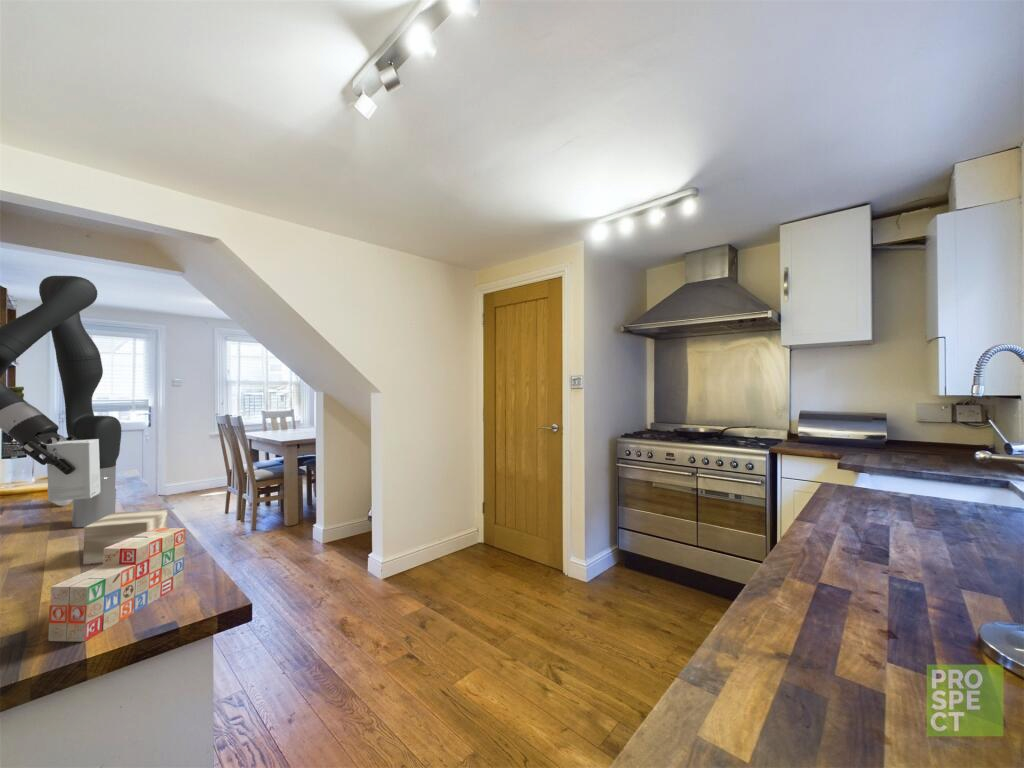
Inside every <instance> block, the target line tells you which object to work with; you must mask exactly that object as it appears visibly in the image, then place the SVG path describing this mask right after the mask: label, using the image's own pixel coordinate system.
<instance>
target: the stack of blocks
mask: <svg viewBox="0 0 1024 768" xmlns="http://www.w3.org/2000/svg"><path fill="white" fill-rule="evenodd" d="M185 556H186V528H183V527H167V528H156V529H153V530H151V531H148V532H143V533H141V534H138V535H136V536H133V538H129V539H126V540H124V541H121V542H119V543H116V544H114V545H111V546H109V547H106V548H104V554H103V562H102V564H101V565H99V566H97V567H96V566H95V567H94V568H91V569H90V570H87V571H85V572H84V571H83V572H82V573H80V574H77V575H75V576H73V577H71V578H68V579H66V580H63V581H61V582H59V583H57V584H55V585H52V586H50V604H49V605H48V606H49V607H48V609H49V610H48V623H49V624H48V636H47V637H48V642H86V641H87V640H89V639H91V638H92V637H95V636H96V635H98V634H99V633H101V632H102V631H105V630H107V629H109V628H110V627H112V626H114V625H115V624H117V623H118V622H120V621H122V620H124V619H126V618H127V617H129V616H131V615H133V614H134V613H136V612H137V611H140V609H143V608H144V607H146V606H148V605H149V604H151V603H153V602H155V601H156V600H158V599H159V598H161V597H163V596H165V595H166V594H168V593H170V592H171V591H173V590H175V589H177V588H179V587H181V586H182V585H184V583H185V582H184V581H185Z"/></svg>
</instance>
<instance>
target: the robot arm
mask: <svg viewBox="0 0 1024 768" xmlns="http://www.w3.org/2000/svg"><path fill="white" fill-rule="evenodd" d="M38 286H39V287H38V289H39V290H38V292H39V293H38V294H39V296H40V300H41V303H40V304H39V306H37V307H34V309H32V310H30V311H28V312H26V313H23V314H22V315H20V316H18V317H16V318H14V319H12V320H10V321H8V322H6V323H5V324H3V325H2V326H0V379H1V378H2V377H3V376H4V374H5V372H6V371H7V370H8V369H9V367H10V366H11V364H13V362H14V361H16V360H17V359H19V357H21V356H22V355H23V354H24V353H25V352H26V351H28V350H29V349H30V348H31V347H32V346H34V344H35V343H37V342H38V341H39V340H40V339H42V338H43V337H44V336H45V335H47V334H48V333H50V332H51V337H52V342H53V345H54V349H55V350H54V351H55V357H56V358H55V359H56V363H57V369H58V372H59V373H58V374H59V377H60V381H61V385H62V387H61V388H62V393H63V398H64V407H65V408H64V410H65V429H66V435H67V437H64V436H63V435H61V434H58V431H59V425H57V424H56V423H55V422H54V421H53V420H51V419H50V418H49V417H48V416H47V415H46V414H44V413H43V412H42V411H40V409H38V408H37V407H35V406H34V405H32V404H31V403H29V402H28V401H26V400H25V399H24V398H22V397H21V396H20V395H18V393H16V392H15V391H13V390H12V389H11V388H9V387H8V386H7V385H5V384H4V382H2V380H0V429H1V431H3V432H4V433H6V435H8V436H10V438H11V439H13V440H15V442H17V443H18V444H19V445H20V446H22V447H21V448H20V451H22V452H23V453H25V454H26V455H27V456H29V457H30V458H31V459H34V461H36V462H37V463H39V464H40V465H42V466H46V464H49V465H54V466H55V467H57V468H58V469H59V470H60V471H62V472H63V473H64V474H66V475H68V474H71V473H72V472H73V471H74V470H75V469H76V468H75V467H74V466H73V465H72V464H70V463H69V462H68V461H67V460H65V459H62V456H61V455H60V454H59V453H57V449H56V448H54V449H53V450H52V451H51V452H50V453H49V452H48V451H47V444H53V443H58V442H59V441H74V440H90V439H99V461H100V494H98V495H96V496H93V497H92V498H87V499H74V500H73V501H72V510H71V511H72V514H71V526H72V527H73V528H85V527H86V526H88V525H90V524H92V523H94V522H96V521H98V520H100V519H102V518H104V517H106V516H108V515H110V514H112V513H116V499H117V489H116V478H117V477H116V476H117V475H116V474H117V473H116V472H117V471H116V469H117V467H116V466H117V460H118V458H119V455H120V452H121V441H122V425H121V422H120V420H119V418H116V417H115V416H113V415H112V416H111V415H95V412H94V409H93V397H94V393H95V391H96V390H97V388H98V386H99V384H100V382H101V380H102V378H103V375H104V369H103V362H102V358H101V353H100V350H99V348H98V347H97V345H96V343H95V342H94V340H93V339H92V337H91V336H90V335H89V333H88V332H87V330H86V329H85V327H84V325H83V322H82V319H81V314H80V312H82V311H83V310H85V309H87V308H88V307H90V306H91V305H93V304H94V303H95V301H96V300H97V298H98V290H97V287H96V286H95V284H94V283H93V282H92V281H90V280H89V279H87V278H86V277H82V276H76V275H51V276H46V277H45V278H43V279H42V280H41V281H40V283H39V285H38ZM52 454H53V455H54V456H53V455H52Z"/></svg>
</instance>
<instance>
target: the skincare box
mask: <svg viewBox="0 0 1024 768" xmlns="http://www.w3.org/2000/svg"><path fill="white" fill-rule="evenodd" d="M54 448H56V449H57V453H59V454H60V455H61V456H62V459H65V460H67V461H68V462H69V463H70V464H72V465H73V466H74V467H75V468H76V469H75V470H74V471H73V472H72V473H71V474H68V475H66V474H64V473H63V472H62V471H60V470H59V469H58V468H57V467H55V466H54V465H49V464H47V465H46V466H47V467H46V468H47V471H46V472H47V496H48V497H47V498H48V503H50V502H53V501H63V500H74V499H87V498H92V497H93V496H96V495H98V494H100V461H99V439H90V440H74V441H59V442H58V443H53V444H47V451H48V452H49V453H50V452H51V451H52V450H53V449H54ZM52 455H53V454H52ZM53 456H54V455H53Z"/></svg>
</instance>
